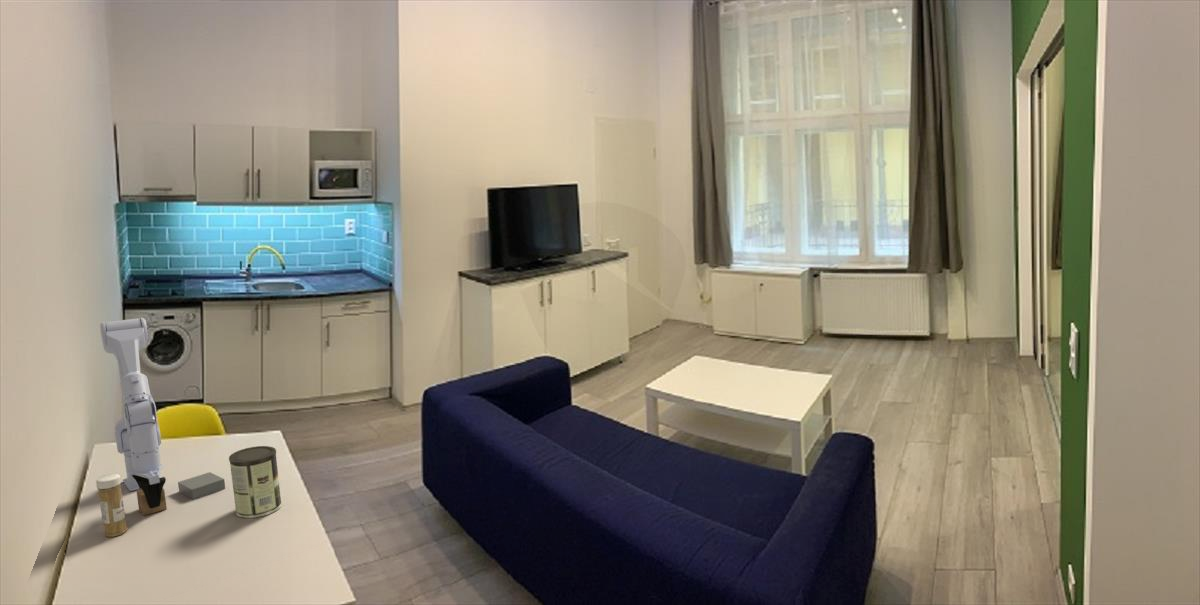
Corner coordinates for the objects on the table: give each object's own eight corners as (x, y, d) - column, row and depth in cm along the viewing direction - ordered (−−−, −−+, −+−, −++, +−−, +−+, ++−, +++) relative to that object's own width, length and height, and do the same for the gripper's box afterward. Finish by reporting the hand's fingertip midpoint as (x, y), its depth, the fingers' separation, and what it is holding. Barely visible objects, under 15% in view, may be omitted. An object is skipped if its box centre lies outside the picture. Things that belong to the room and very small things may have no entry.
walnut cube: (138, 508, 185) (136, 489, 184) (161, 502, 188) (159, 483, 187) (143, 515, 181) (140, 495, 180) (166, 508, 185) (164, 489, 184)
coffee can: (257, 497, 190) (251, 443, 188) (291, 502, 187) (285, 448, 184) (225, 515, 181) (218, 459, 178) (259, 521, 177) (253, 463, 175)
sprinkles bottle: (128, 533, 172) (120, 477, 170) (104, 539, 170) (95, 482, 168) (127, 526, 176) (119, 471, 174) (103, 531, 174) (95, 476, 171)
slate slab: (179, 493, 195) (177, 482, 194) (211, 482, 201) (209, 472, 201) (193, 500, 190) (191, 489, 190) (225, 490, 196) (224, 479, 196)
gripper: (119, 446, 185) (127, 498, 187) (131, 462, 174) (139, 518, 177) (152, 439, 190) (159, 490, 192) (166, 454, 179) (173, 508, 181)
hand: (152, 503), depth 185 cm, fingers closed on walnut cube, 5 cm apart
